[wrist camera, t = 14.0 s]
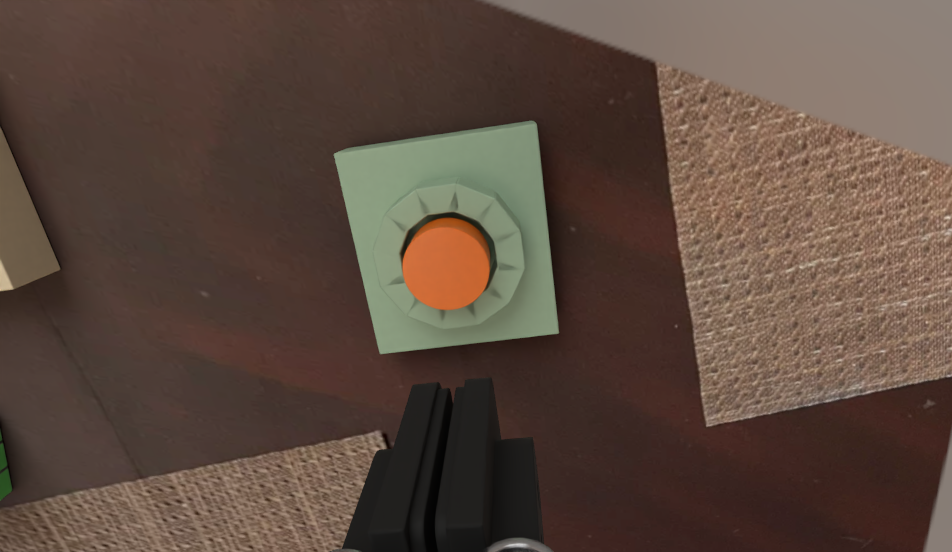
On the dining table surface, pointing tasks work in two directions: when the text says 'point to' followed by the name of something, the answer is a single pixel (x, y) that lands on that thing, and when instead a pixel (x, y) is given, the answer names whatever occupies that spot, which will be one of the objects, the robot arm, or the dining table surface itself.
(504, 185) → the block
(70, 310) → the dining table surface
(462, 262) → the button
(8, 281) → the timer panel
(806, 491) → the dining table surface
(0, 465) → the puzzle toy
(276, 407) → the dining table surface
